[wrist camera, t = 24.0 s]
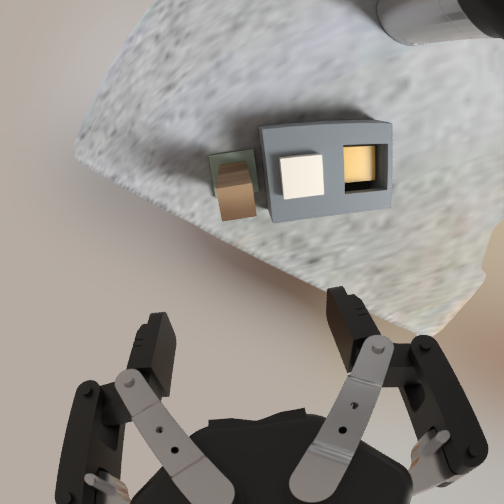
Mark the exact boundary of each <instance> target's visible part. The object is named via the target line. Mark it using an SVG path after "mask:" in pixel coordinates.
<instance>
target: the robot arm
mask: <svg viewBox="0 0 504 504" xmlns="http://www.w3.org/2000/svg"><path fill="white" fill-rule="evenodd" d="M377 15H378V18H379V21H380V23H381V25H382V27H383V28H384V30H385V31H386V32H387V33H388V34H389V35H390V36H391V37H392V38H393V39H395V40H396V41H398V42H400V43H401V44H404V45H409V46H414V45H422V44H427V43H435V42H443V41H452V40H464V39H479V38H502V39H504V0H379V2H378V5H377ZM326 316H327V321H328V325H329V327H330V330H331V332H332V334H333V337H334V340H335V342H336V345H337V347H338V350H339V352H340V355H341V358H342V360H343V363H344V365H345V368H346V370H347V373H349V372H351V374H350V375H348V377H347V378H346V380H345V382H344V384H343V387H342V389H341V391H340V393H339V395H338V397H337V399H336V401H335V403H334V405H333V407H332V409H331V411H330V412H329V414H328V416H327V418H325V417H323V416H319V415H314V414H306V412H305V408H301V409H296V410H290V411H284V412H280V413H277V414H274V415H272V416H269V417H267V418H264V419H261V420H258V421H251V420H243V419H234V418H228V419H216V420H209V426H208V427H205V428H203V429H200V430H198V431H196V432H195V433H193V434H192V435H191V436H190V437H188V436H187V434H186V433H185V432H184V431H183V429H182V428H181V427H180V426H179V425H178V423H177V422H176V421H175V419H174V418H173V417H172V416H171V414H170V413H169V412H168V410H167V409H166V408H165V407H164V405H163V404H162V403H161V399H162V397H169V395H170V387H171V379H172V371H173V364H174V356H175V350H176V336H175V333H174V330H173V328H172V325H171V323H170V321H169V318H168V316H167V314H166V312H159V313H151V314H150V317H149V320H148V323H147V324H143V325H142V326H141V327H140V329H139V330H138V331H137V333H136V337H135V341H134V343H133V348H132V350H131V354H130V358H129V361H128V365H127V369H126V370H124V371H123V372H121V373H120V374H119V375H118V376H117V377H116V379H115V382H112V383H109V384H106V385H102V386H100V385H99V384H98V383H97V382H96V381H93V380H89V381H85V382H83V383H82V384H80V385H79V387H78V388H77V390H76V393H75V397H74V401H73V404H72V408H71V412H70V416H69V420H68V424H67V429H66V433H65V438H64V443H63V447H62V452H61V458H60V464H59V469H58V475H57V482H56V490H55V501H56V504H410V501H411V498H412V496H413V495H416V494H419V493H421V492H424V491H426V490H429V489H431V488H433V487H435V486H436V487H446V486H448V485H450V484H451V483H453V482H455V481H456V480H458V479H459V478H461V477H463V476H464V475H466V474H467V473H469V472H470V471H472V470H473V469H475V468H476V467H477V466H479V465H480V464H481V463H483V461H484V460H485V459H486V457H487V454H488V444H487V441H486V439H485V436H484V434H483V432H482V429H481V427H480V425H479V422H478V420H477V418H476V416H475V413H474V411H473V409H472V407H471V405H470V403H469V401H468V399H467V397H466V395H465V393H464V391H463V389H462V387H461V385H460V383H459V381H458V379H457V377H456V375H455V373H454V371H453V369H452V368H451V366H450V364H449V362H448V360H447V358H446V357H445V355H444V353H443V351H442V350H441V348H440V346H439V344H438V343H437V341H436V340H435V339H434V338H432V337H431V336H428V335H419V336H416V337H415V338H414V339H413V340H412V342H411V344H397V343H392V341H391V340H390V339H389V338H387V337H385V336H382V335H381V334H380V332H379V330H378V328H377V327H376V325H375V323H374V321H373V319H372V318H371V316H370V314H369V312H368V310H367V309H366V308H365V305H364V303H363V302H362V300H361V299H360V298H358V297H357V296H356V295H354V294H352V295H347V293H346V291H345V289H344V287H343V286H339V287H334V288H328V289H327V304H326ZM382 387H398V388H399V390H400V393H401V395H402V398H403V400H404V403H405V406H406V408H407V411H408V414H409V416H410V419H411V422H412V425H413V428H414V430H415V434H416V437H417V439H418V442H417V444H416V445H415V446H414V447H413V449H412V452H411V460H412V462H411V467H410V469H409V470H407V469H406V468H405V467H404V466H403V465H401V464H400V463H398V462H396V461H394V460H393V459H391V458H389V457H388V456H386V455H384V454H382V453H381V452H379V451H378V450H376V449H375V448H373V447H371V446H369V445H368V444H367V443H365V442H363V441H362V440H361V437H362V435H363V433H364V431H365V429H366V426H367V424H368V422H369V419H370V417H371V414H372V411H373V409H374V407H375V404H376V401H377V399H378V396H379V393H380V390H381V388H382ZM131 421H133V422H134V424H135V425H136V427H137V429H138V430H139V432H140V433H141V435H142V437H143V438H144V439H145V441H146V443H147V444H148V446H149V447H150V448H151V450H152V451H153V453H154V454H155V456H156V457H157V459H158V460H159V461H160V463H161V464H162V465H163V466H162V467H161V468H160V469H159V471H157V473H156V474H155V475H154V476H153V477H152V478H151V479H150V480H149V481H148V482H147V483H146V484H145V485H144V486H143V488H141V489H140V490H139V491H138V493H136V495H135V496H134V497H133V498H132V500H130V498H129V495H128V489H127V487H126V485H125V484H124V483H123V482H122V481H120V474H121V461H122V450H123V440H124V431H125V423H127V422H131Z"/></svg>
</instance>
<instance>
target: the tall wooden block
mask: <svg viewBox="0 0 504 504" xmlns="http://www.w3.org/2000/svg"><path fill="white" fill-rule="evenodd" d="M216 191H217V196H218V201H219V207H220V212H221V217H222V221H228V220H234V219H241V218H247V217H254V216H257V215H256V208H255V201H254V194H253V186H252V181H251V178H250V175H249V171H248V168H247V164H246V161H242V162H236V163H229V164H223V165H219V171H218V178H217V186H216Z"/></svg>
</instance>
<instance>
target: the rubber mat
mask: <svg viewBox="0 0 504 504" xmlns="http://www.w3.org/2000/svg"><path fill="white" fill-rule="evenodd" d="M208 158H209V164H210V169H211V175H212V180H213V186H214V191H215V197H216V199H217V198H218V196H217V191H216V186H217V178H218V171H219V165H223V164H229V163H236V162H242V161H246V164H247V168H248V171H249V175H250V178H251V181H252V186H253V193H256V192H259V187H258V180H257V172H256V164H255V156H254V149H249V150H242V151H235V152H229V153H223V154H216V155H211V156H208Z"/></svg>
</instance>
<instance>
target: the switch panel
mask: <svg viewBox="0 0 504 504" xmlns="http://www.w3.org/2000/svg"><path fill="white" fill-rule="evenodd" d="M258 131H259V139H260V147H261V155H262V163H263V171H264V179H265V188H266V196H267V205H268V211H269V214H270V216H271V219H272V222H273V223H280V222H287V221H294V220H301V219H308V218H316V217H323V216H331V215H339V214H346V213H354V212H362V211H370V210H379V209H387V208H391V196H392V170H393V132H392V123H389V122H384V121H379V120H329V121H311V122H297V123H285V124H275V125H266V126H258ZM357 144H371V145H374V146H375V180H372V181H370V189H366V190H355V191H346V192H345V178H344V149H343V145H357ZM316 153H320V154H322V162H323V181H324V195H316V196H308V197H300V198H292V199H284V198H283V195H282V184H281V174H280V165H279V157H286V156H295V155H305V154H316Z"/></svg>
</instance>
